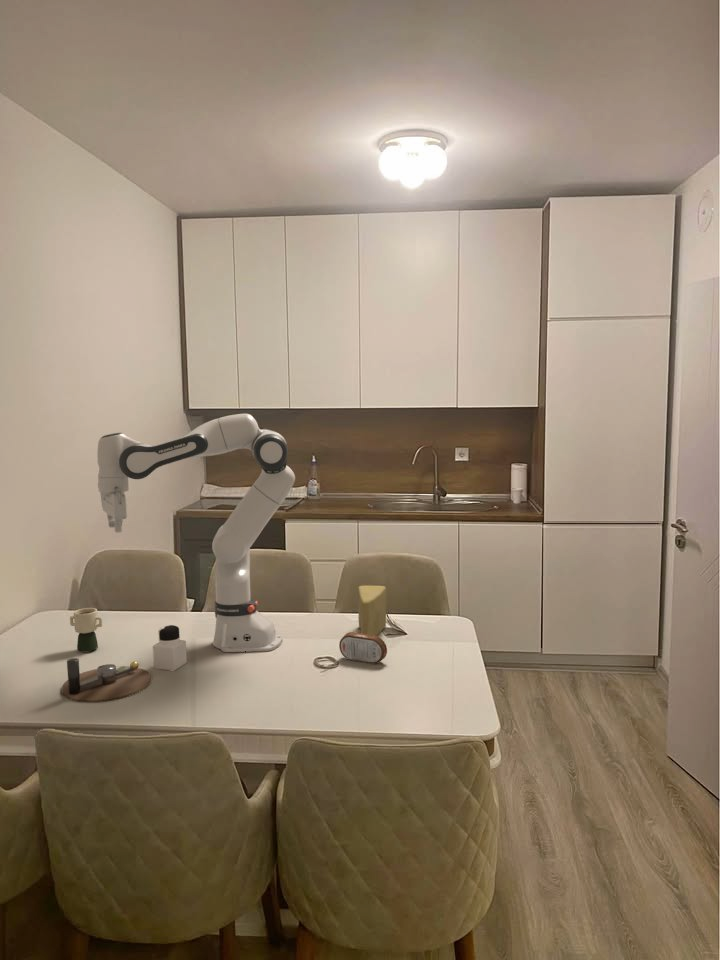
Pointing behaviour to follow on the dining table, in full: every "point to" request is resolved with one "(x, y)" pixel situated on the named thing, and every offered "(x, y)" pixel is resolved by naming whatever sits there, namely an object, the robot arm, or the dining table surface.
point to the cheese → (372, 609)
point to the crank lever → (105, 676)
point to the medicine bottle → (169, 649)
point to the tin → (363, 648)
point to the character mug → (86, 628)
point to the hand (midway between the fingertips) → (115, 529)
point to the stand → (111, 686)
